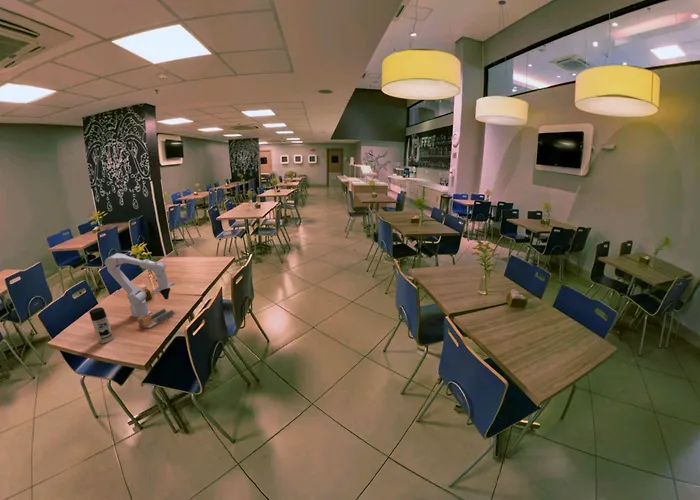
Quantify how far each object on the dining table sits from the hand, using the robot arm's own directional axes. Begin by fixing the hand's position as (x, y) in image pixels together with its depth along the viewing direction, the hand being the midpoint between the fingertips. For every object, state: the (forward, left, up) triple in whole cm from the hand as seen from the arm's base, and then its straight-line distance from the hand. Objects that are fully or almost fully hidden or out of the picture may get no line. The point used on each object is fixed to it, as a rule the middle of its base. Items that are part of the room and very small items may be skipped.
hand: (166, 298), depth 195 cm
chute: (+2, -11, -10) cm, 15 cm away
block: (+2, -18, -9) cm, 20 cm away
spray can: (-7, -36, -10) cm, 38 cm away
